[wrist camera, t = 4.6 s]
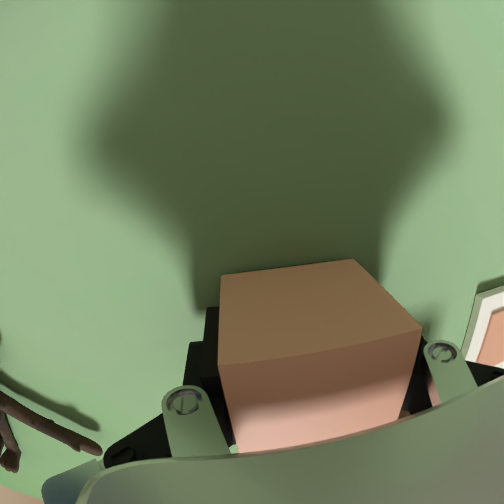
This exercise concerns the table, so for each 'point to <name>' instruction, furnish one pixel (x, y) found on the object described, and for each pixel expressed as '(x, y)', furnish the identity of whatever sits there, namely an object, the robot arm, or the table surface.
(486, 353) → the card
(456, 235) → the table surface
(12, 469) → the brown spindly figurine
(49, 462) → the table surface
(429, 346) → the robot arm
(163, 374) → the table surface
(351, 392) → the terracotta block
